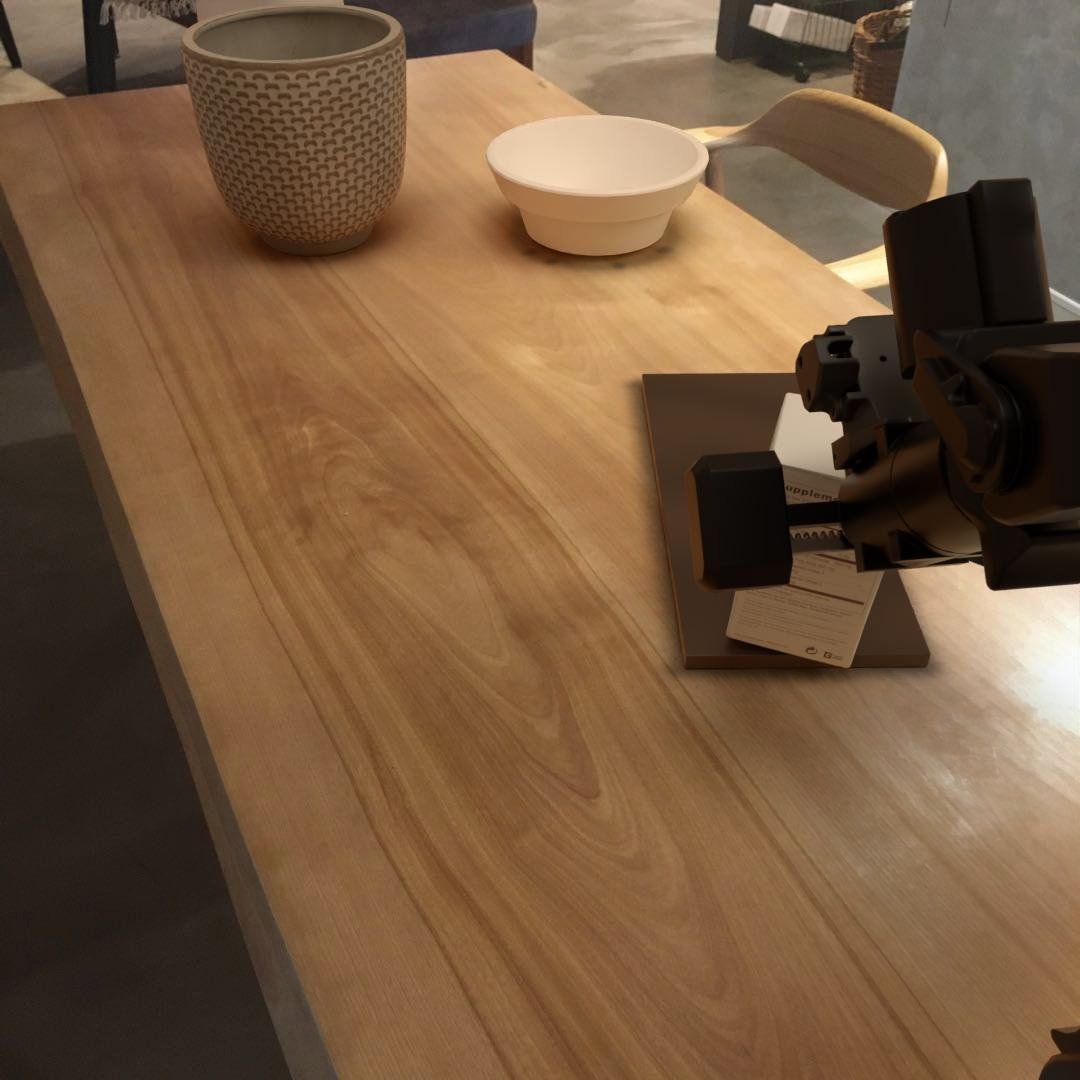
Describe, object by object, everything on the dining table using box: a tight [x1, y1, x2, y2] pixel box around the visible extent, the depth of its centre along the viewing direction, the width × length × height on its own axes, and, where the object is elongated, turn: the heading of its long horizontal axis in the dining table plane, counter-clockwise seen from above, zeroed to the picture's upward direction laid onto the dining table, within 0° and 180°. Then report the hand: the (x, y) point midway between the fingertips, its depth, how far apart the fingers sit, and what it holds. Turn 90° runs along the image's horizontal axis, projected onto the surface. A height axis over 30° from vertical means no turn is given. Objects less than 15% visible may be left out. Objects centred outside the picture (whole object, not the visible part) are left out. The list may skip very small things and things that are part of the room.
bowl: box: [485, 114, 710, 257], centre depth 113 cm, size 21×21×8 cm
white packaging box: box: [726, 393, 884, 669], centre depth 65 cm, size 7×7×13 cm
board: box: [641, 372, 931, 669], centre depth 80 cm, size 32×14×1 cm, turn 1°
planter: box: [180, 3, 408, 257], centre depth 110 cm, size 20×20×19 cm
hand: (831, 534), depth 63 cm, fingers open, 9 cm apart
